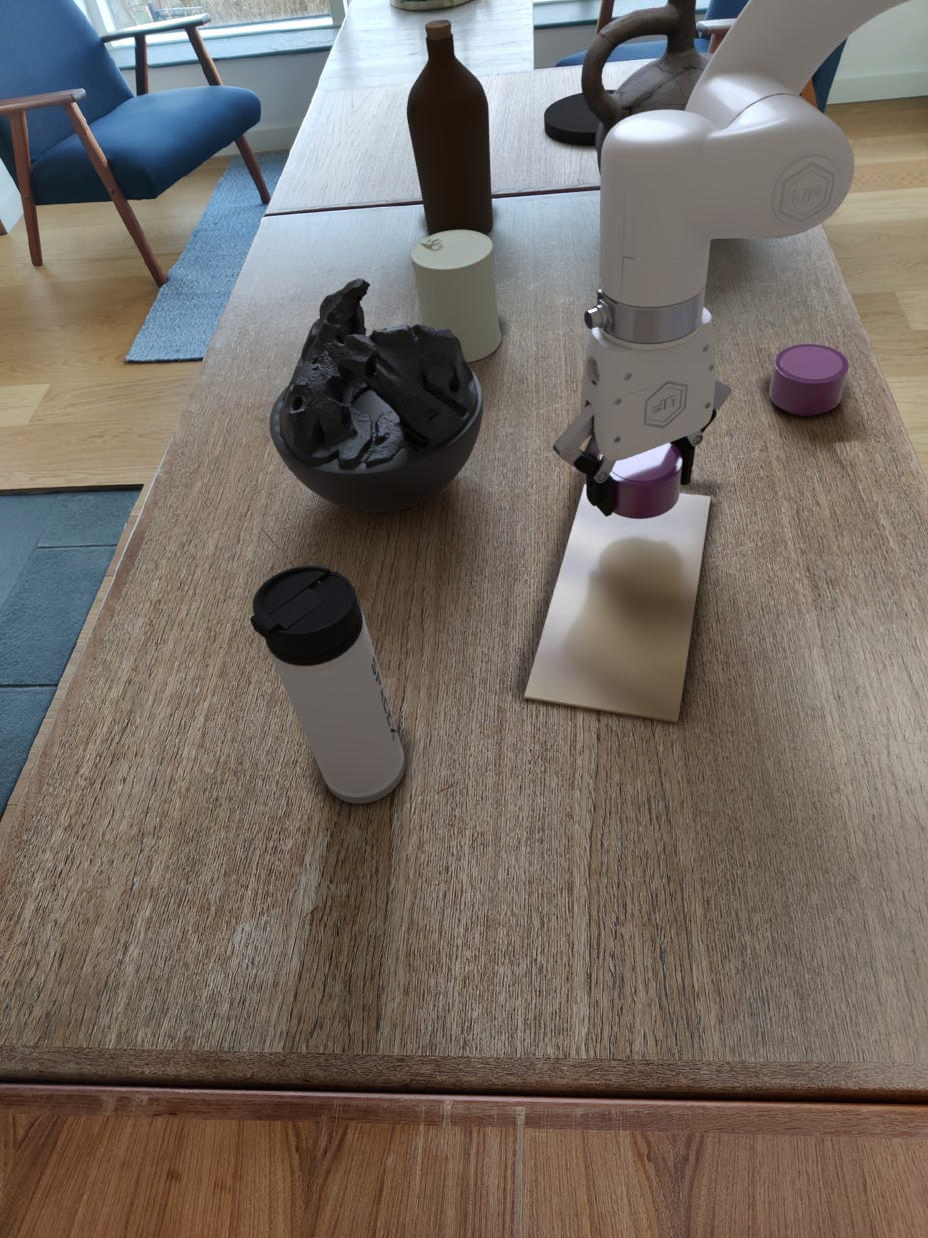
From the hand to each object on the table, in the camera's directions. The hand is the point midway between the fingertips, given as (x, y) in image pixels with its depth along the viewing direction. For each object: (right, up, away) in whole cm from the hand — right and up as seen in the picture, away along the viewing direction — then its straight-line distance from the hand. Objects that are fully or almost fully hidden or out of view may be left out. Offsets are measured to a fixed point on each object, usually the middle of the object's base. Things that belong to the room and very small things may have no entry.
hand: (639, 490), depth 78 cm
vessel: (+11, +42, +43) cm, 61 cm away
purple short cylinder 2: (+20, +11, +14) cm, 27 cm away
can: (-16, +22, +28) cm, 39 cm away
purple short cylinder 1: (0, -1, +1) cm, 1 cm away
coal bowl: (-23, +2, +12) cm, 26 cm away
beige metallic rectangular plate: (-1, -9, -1) cm, 9 cm away
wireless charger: (+7, +70, +67) cm, 97 cm away
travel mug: (-23, -23, -10) cm, 34 cm away
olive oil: (-16, +44, +48) cm, 67 cm away
